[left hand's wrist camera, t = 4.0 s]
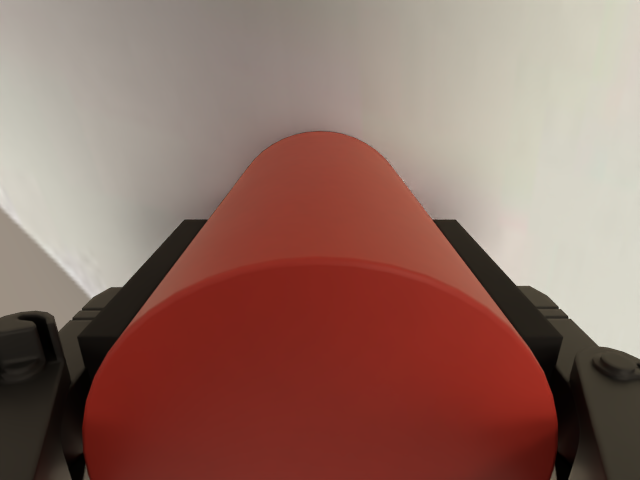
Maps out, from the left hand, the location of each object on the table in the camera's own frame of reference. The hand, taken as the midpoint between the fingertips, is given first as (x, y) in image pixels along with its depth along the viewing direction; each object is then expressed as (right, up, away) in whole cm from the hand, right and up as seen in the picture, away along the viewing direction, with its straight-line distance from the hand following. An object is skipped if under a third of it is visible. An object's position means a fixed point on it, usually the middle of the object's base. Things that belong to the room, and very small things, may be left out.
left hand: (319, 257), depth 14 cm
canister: (0, +1, +4) cm, 4 cm away
